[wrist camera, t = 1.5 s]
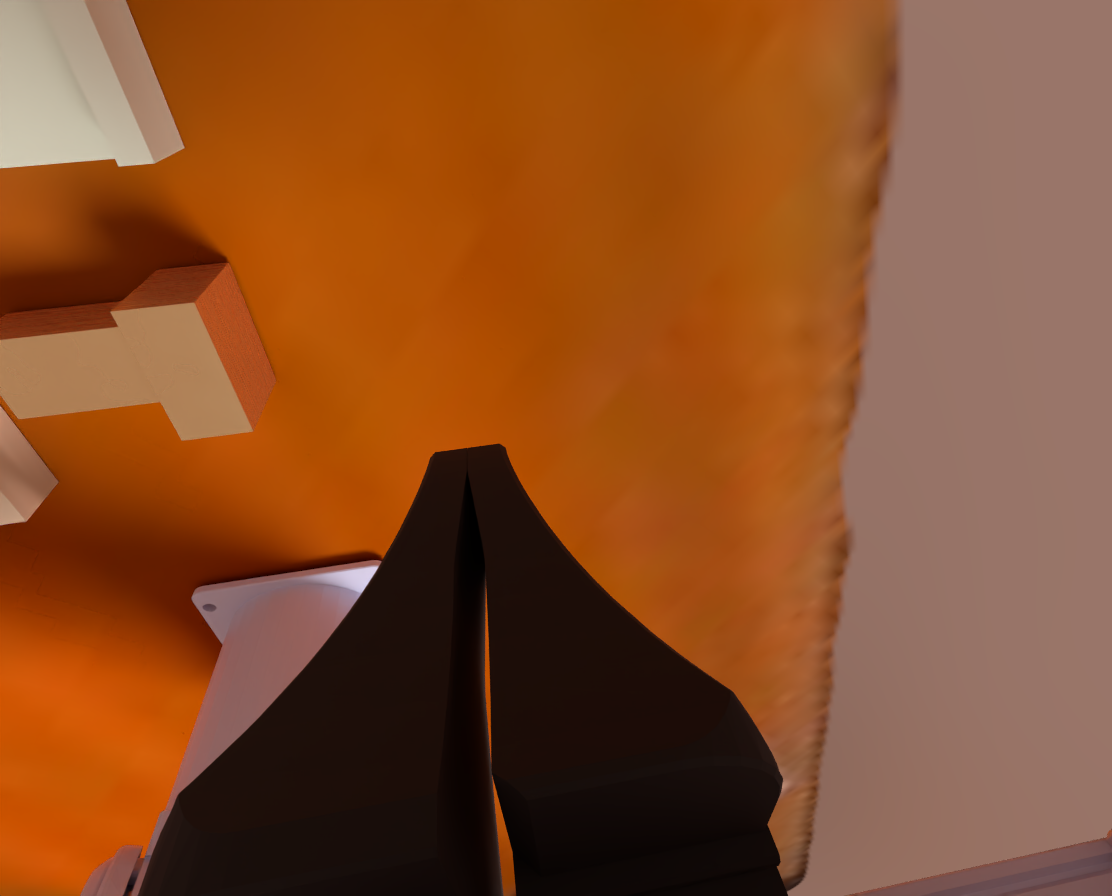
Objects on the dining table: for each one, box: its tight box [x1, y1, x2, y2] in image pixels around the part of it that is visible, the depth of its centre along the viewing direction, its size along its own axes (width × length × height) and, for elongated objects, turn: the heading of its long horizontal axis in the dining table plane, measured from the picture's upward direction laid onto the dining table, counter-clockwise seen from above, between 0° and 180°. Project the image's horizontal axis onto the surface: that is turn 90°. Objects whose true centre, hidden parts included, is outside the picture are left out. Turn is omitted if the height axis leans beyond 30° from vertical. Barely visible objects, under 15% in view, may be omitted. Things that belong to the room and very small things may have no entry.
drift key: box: [0, 262, 276, 441], centre depth 17 cm, size 4×6×3 cm, turn 93°
